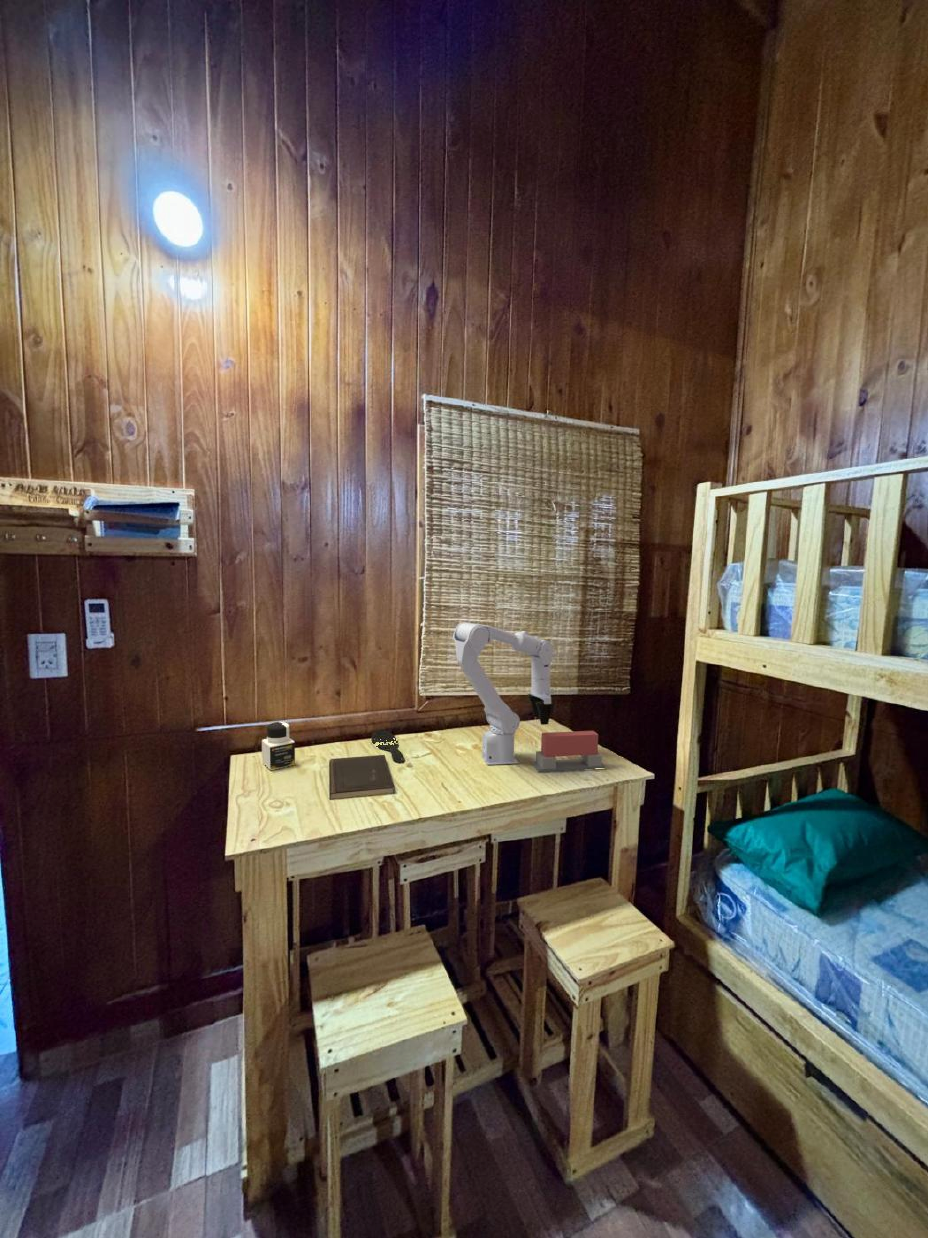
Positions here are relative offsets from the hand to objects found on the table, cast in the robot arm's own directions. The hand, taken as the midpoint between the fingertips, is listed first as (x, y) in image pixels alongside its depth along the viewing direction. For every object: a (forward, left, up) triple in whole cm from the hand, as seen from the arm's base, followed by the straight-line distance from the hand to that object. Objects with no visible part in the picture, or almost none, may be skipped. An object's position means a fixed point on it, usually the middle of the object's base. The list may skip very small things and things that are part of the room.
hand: (540, 720), depth 160 cm
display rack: (+5, -12, -10) cm, 17 cm away
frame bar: (+5, -12, -6) cm, 15 cm away
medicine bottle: (-78, +1, -11) cm, 79 cm away
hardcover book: (-55, -12, -11) cm, 58 cm away
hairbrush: (-46, +9, -11) cm, 48 cm away
